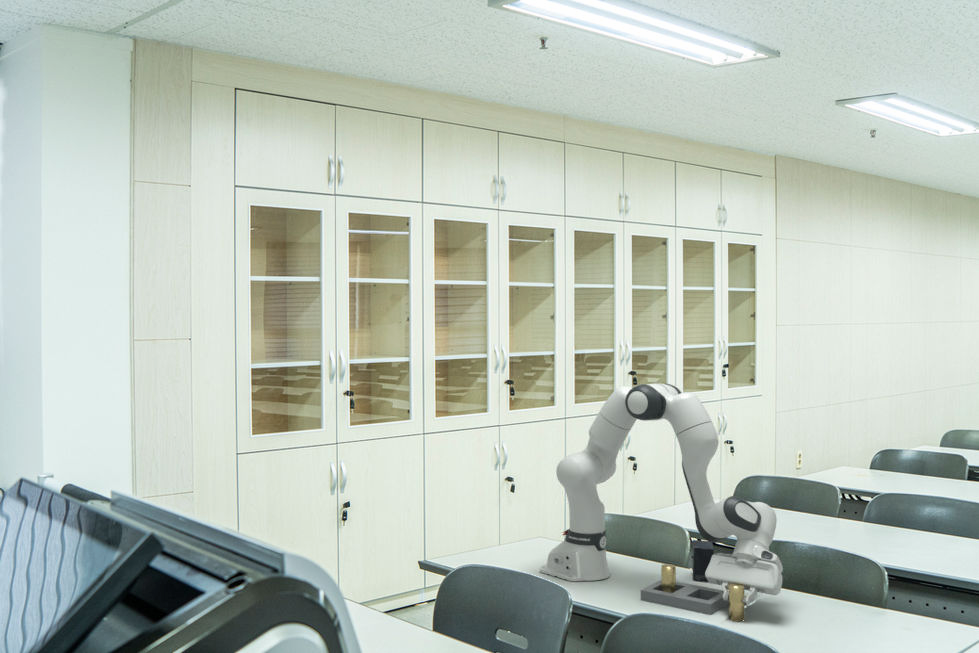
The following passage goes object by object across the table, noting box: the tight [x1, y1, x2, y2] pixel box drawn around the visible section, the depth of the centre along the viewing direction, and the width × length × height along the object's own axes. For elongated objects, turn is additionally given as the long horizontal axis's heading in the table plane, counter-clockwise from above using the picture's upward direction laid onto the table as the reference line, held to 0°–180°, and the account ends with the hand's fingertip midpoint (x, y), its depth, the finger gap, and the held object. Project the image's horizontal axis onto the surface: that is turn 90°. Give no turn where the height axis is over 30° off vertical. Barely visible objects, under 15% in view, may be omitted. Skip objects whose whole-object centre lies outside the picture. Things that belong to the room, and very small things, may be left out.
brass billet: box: [728, 583, 746, 623], centre depth 229 cm, size 4×4×9 cm
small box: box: [692, 539, 715, 583], centre depth 269 cm, size 11×6×10 cm, turn 168°
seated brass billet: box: [661, 563, 677, 593], centre depth 246 cm, size 4×4×9 cm
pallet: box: [640, 579, 729, 616], centre depth 243 cm, size 21×14×4 cm, turn 52°
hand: (735, 601), depth 229 cm, fingers closed on brass billet, 4 cm apart
